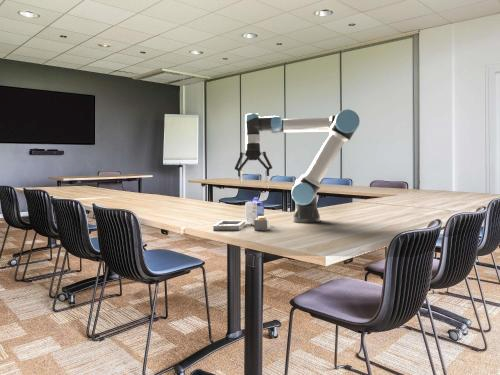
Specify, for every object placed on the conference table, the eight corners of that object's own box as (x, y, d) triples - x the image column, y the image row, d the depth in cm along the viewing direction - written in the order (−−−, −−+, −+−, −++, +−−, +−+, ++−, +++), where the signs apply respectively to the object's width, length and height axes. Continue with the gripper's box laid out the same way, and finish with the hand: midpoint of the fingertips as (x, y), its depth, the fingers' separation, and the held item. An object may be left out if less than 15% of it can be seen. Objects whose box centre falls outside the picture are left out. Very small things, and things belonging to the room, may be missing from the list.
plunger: (266, 226, 203) (265, 216, 203) (265, 227, 200) (264, 217, 200) (259, 226, 204) (258, 216, 204) (257, 227, 201) (257, 217, 200)
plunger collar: (269, 228, 205) (269, 218, 204) (267, 230, 198) (267, 220, 198) (256, 228, 206) (256, 218, 206) (254, 230, 199) (254, 220, 199)
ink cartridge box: (265, 224, 218) (264, 197, 217) (257, 225, 214) (256, 198, 214) (252, 223, 225) (252, 196, 225) (245, 224, 222) (244, 197, 221)
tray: (245, 225, 217) (245, 220, 217) (238, 230, 201) (238, 225, 200) (222, 225, 220) (221, 220, 220) (213, 230, 203) (213, 225, 203)
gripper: (276, 142, 219) (277, 181, 220) (231, 144, 223) (232, 182, 224) (275, 141, 212) (276, 182, 213) (228, 143, 216) (229, 183, 217)
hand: (253, 182), depth 219 cm, fingers open, 13 cm apart
